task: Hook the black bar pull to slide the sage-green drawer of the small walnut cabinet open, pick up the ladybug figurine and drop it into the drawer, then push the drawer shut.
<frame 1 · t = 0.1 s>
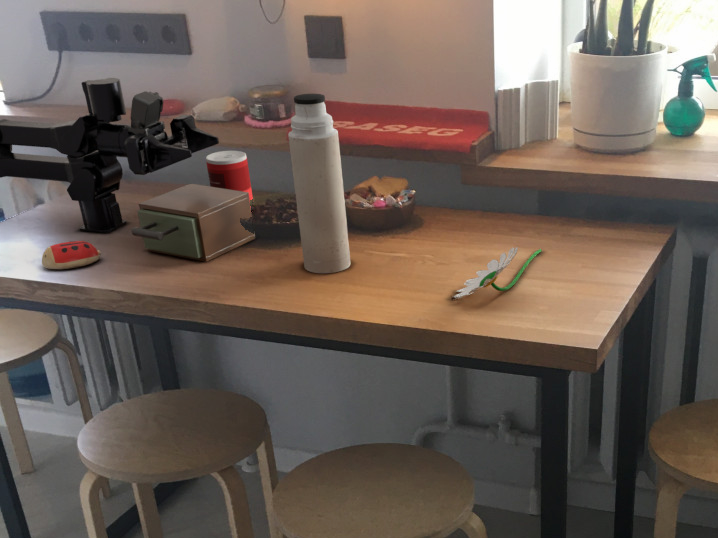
hand: (204, 147, 179), 17 cm above the table, tool horizontal, fingers open, 9 cm apart
thermos bottle: (327, 266, 175), on the table
drawer: (181, 228, 180), point 4 cm above the table, slide at 0.0 cm
ladybug figurine: (72, 265, 178), on the table
flower: (511, 282, 168), on the table
cabinet: (202, 244, 185), on the table
canned food: (234, 212, 202), on the table
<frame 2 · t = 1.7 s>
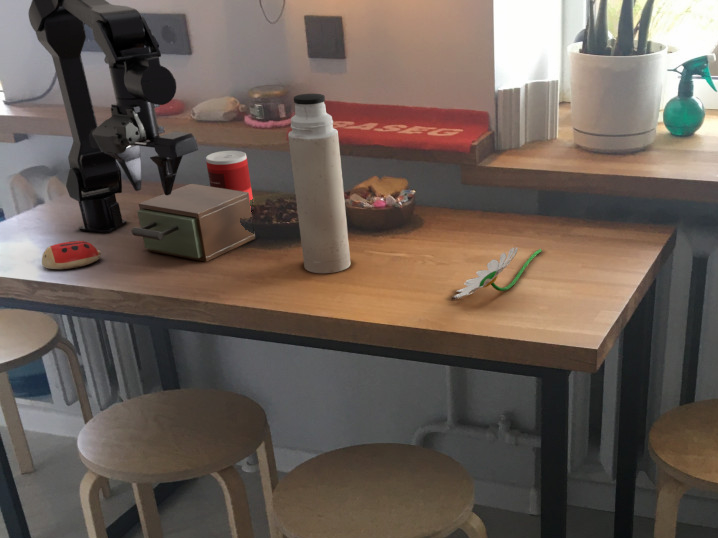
hand: (153, 192, 172), 12 cm above the table, tool pointing down, fingers open, 6 cm apart
nothing on the table moved.
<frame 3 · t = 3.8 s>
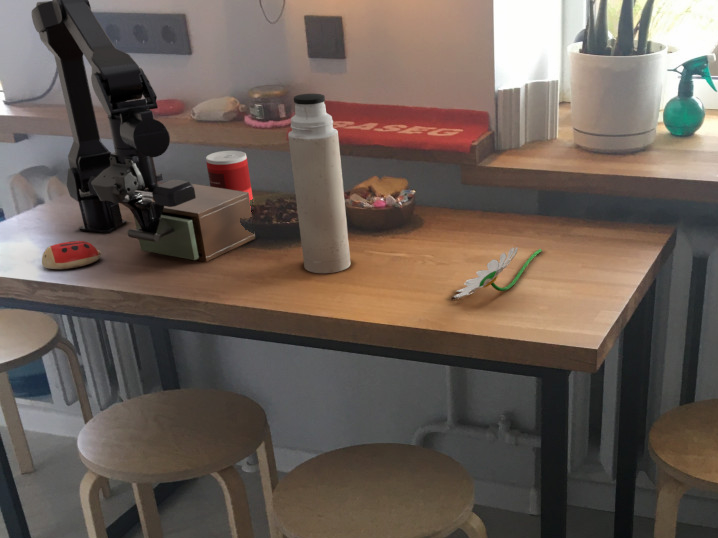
hand: (151, 238, 174), 5 cm above the table, tool pointing down, fingers closed, pressing on drawer
drawer: (177, 230, 179), point 4 cm above the table, slide at 1.0 cm, touching gripper
everything else where it was.
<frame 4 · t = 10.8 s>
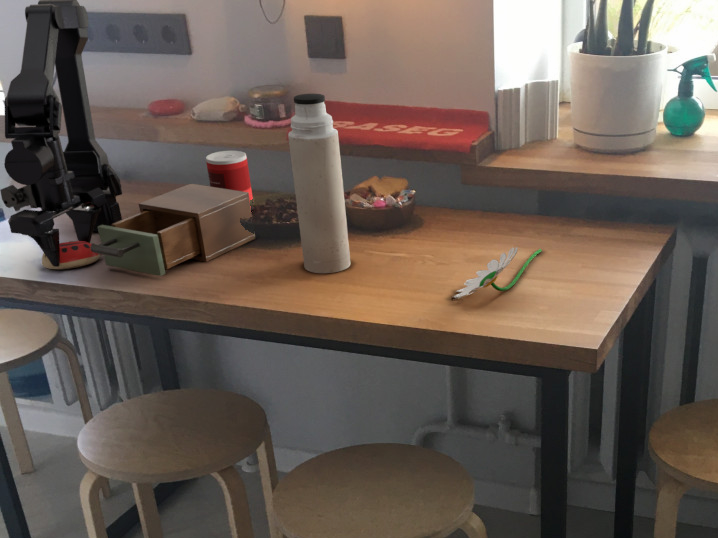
hand: (71, 258, 177), 1 cm above the table, tool pointing down, fingers closed on ladybug figurine, 8 cm apart
drawer: (144, 244, 173), point 4 cm above the table, slide at 9.4 cm
ladybug figurine: (72, 265, 178), on the table, touching gripper
everything else where it was.
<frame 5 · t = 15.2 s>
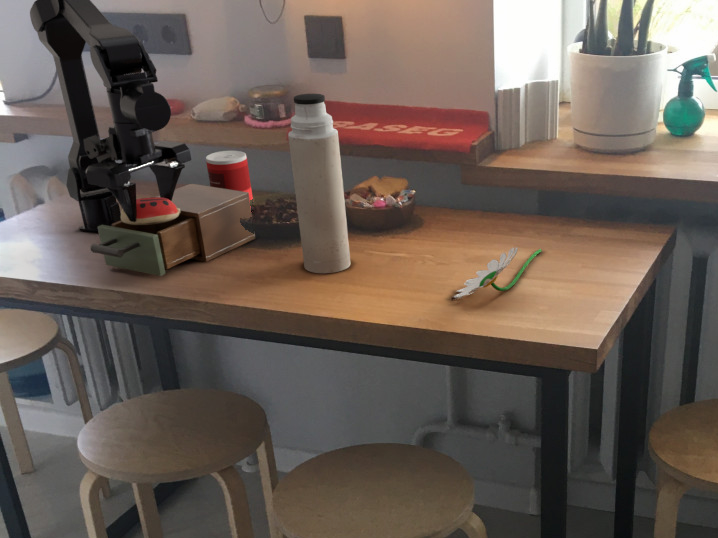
hand: (150, 214, 173), 9 cm above the table, tool pointing down, fingers closed on ladybug figurine, 8 cm apart
ladybug figurine: (151, 221, 173), point 7 cm above the table, touching gripper
everything else where it was.
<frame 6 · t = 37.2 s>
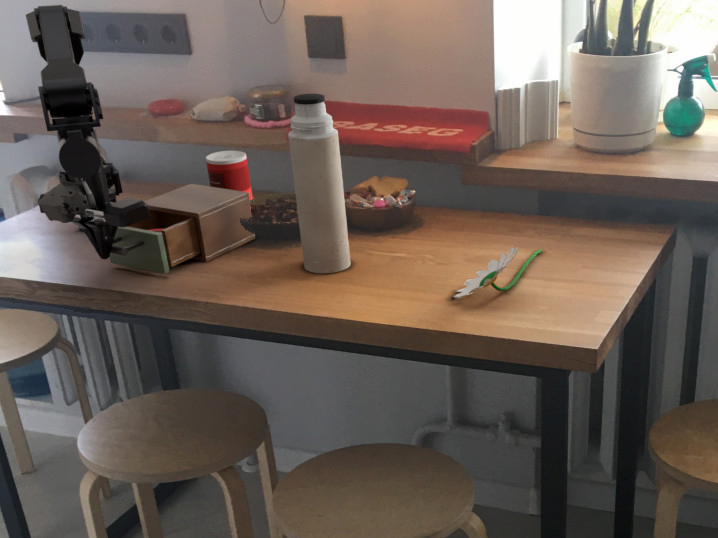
hand: (105, 258, 166), 5 cm above the table, tool pointing down, fingers closed, pressing on drawer
drawer: (148, 242, 174), point 4 cm above the table, slide at 8.4 cm, touching gripper, ladybug figurine
ladybug figurine: (162, 252, 177), point 2 cm above the table, touching drawer
everything else where it was.
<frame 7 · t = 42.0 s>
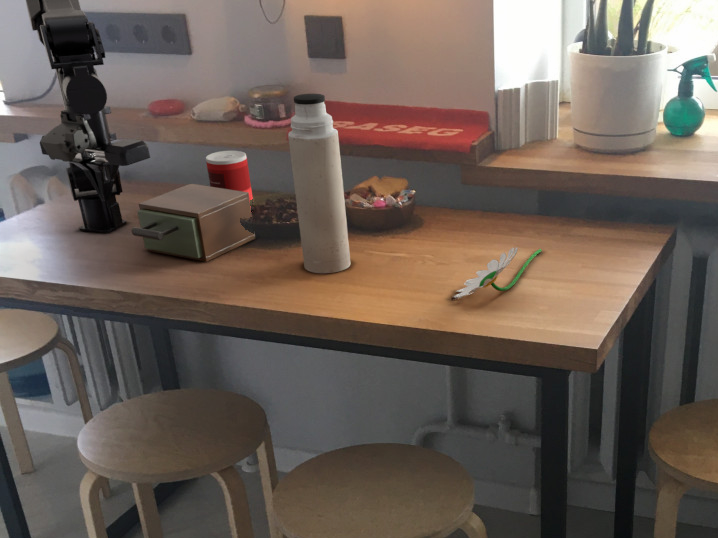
hand: (105, 200, 169), 12 cm above the table, tool pointing down, fingers closed
drawer: (181, 228, 180), point 4 cm above the table, slide at 0.0 cm, touching ladybug figurine
ladybug figurine: (194, 237, 183), point 2 cm above the table, touching drawer
everything else where it was.
at the end: drawer pulled out 9.4 cm at the most during the clip, back to where it started at the end; ladybug figurine inside the target area in the cabinet (1.5 cm from its centre), point 1.8 cm above the cabinet's base; drawer slide at 0.0 cm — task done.
